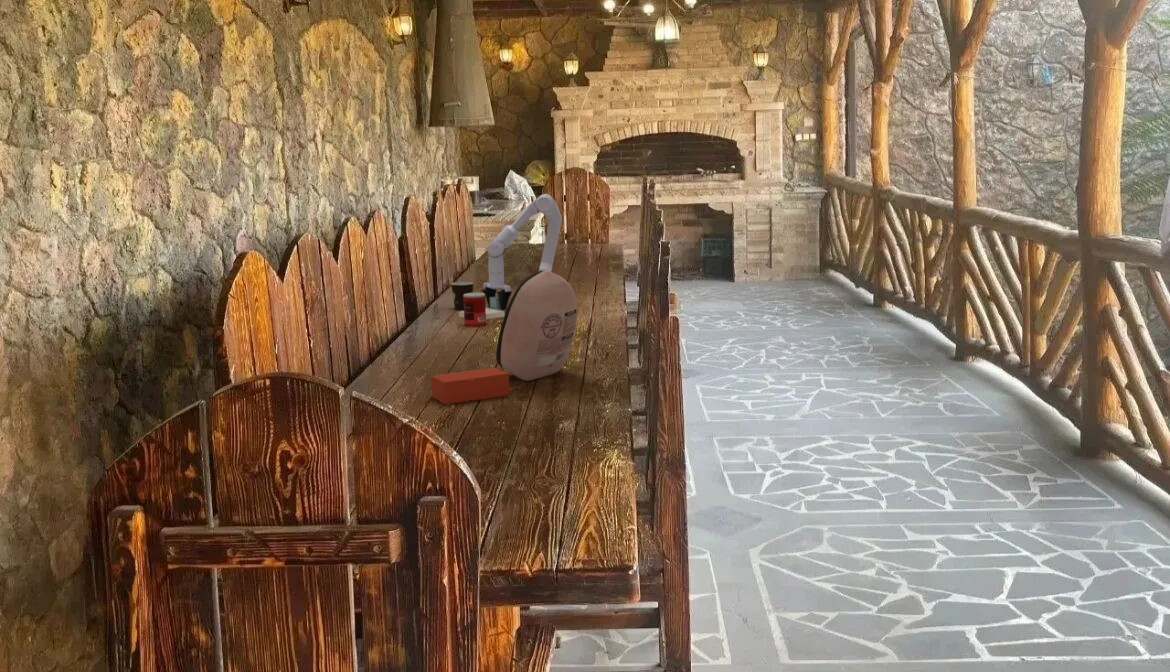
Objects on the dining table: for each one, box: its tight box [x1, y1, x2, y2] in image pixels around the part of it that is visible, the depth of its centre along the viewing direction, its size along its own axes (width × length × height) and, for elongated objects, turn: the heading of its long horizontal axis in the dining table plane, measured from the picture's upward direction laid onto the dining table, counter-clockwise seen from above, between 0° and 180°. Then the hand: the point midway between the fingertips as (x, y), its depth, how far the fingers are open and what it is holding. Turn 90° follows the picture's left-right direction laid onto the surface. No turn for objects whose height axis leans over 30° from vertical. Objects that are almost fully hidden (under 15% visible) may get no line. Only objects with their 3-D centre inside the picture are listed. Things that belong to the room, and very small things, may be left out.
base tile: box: [458, 307, 506, 320], centre depth 393 cm, size 12×12×2 cm
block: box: [489, 295, 506, 313], centre depth 401 cm, size 4×4×6 cm
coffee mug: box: [450, 281, 474, 311], centre depth 412 cm, size 12×9×10 cm
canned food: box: [463, 292, 487, 327], centre depth 376 cm, size 8×8×11 cm
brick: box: [430, 366, 510, 405], centre depth 273 cm, size 18×9×6 cm, turn 120°
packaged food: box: [495, 270, 579, 382], centre depth 291 cm, size 22×20×30 cm
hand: (497, 308), depth 401 cm, fingers open, 7 cm apart
